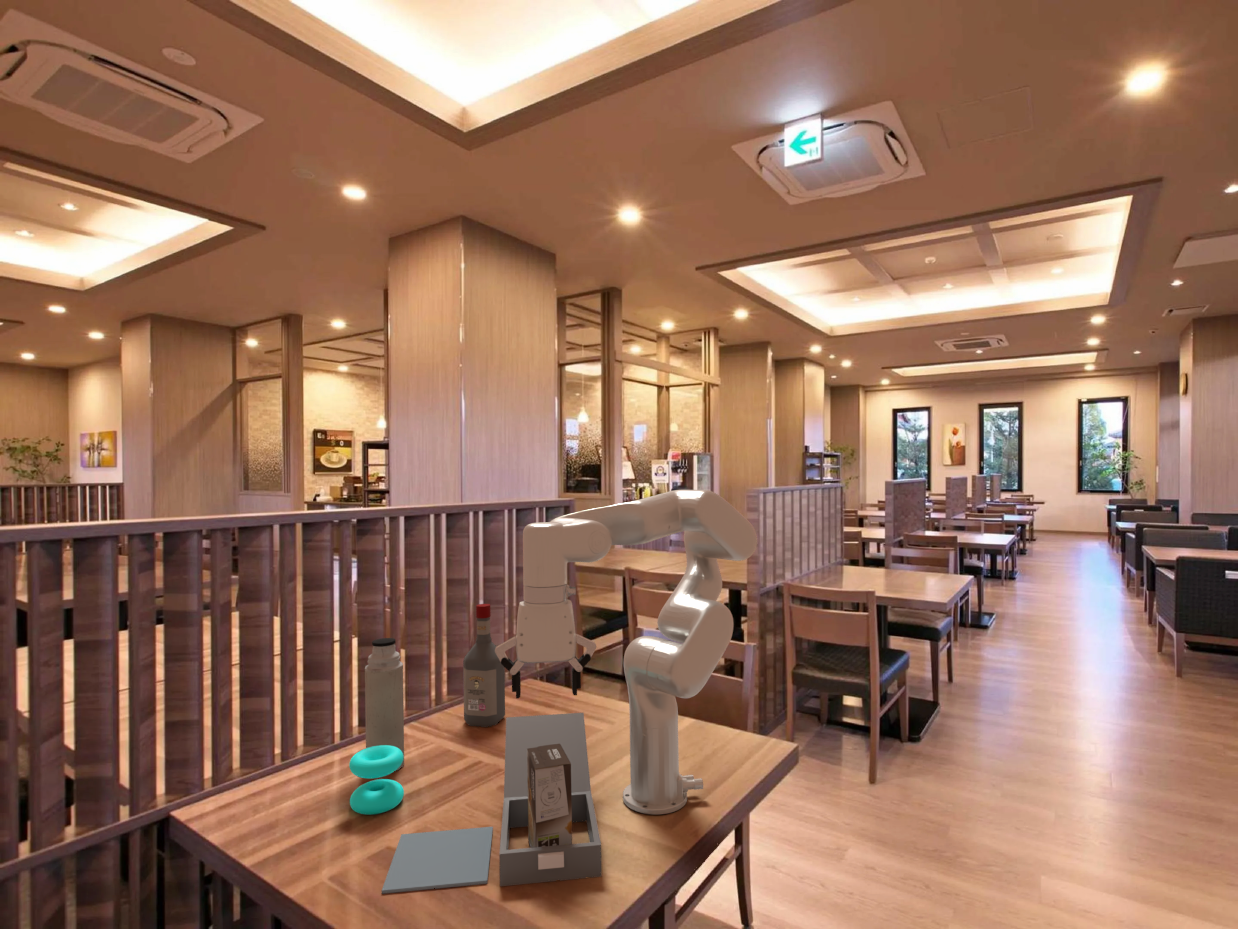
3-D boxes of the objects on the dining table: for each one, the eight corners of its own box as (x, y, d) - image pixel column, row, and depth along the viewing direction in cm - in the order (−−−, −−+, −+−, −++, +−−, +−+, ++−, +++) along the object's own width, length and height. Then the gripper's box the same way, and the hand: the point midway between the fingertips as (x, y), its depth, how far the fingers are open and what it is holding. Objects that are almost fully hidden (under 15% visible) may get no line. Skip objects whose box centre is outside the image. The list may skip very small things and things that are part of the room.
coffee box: (574, 860, 110) (572, 763, 111) (535, 868, 108) (534, 769, 109) (562, 832, 119) (560, 742, 119) (526, 838, 117) (525, 747, 117)
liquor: (493, 728, 168) (492, 609, 168) (460, 725, 170) (459, 608, 170) (508, 715, 177) (506, 602, 177) (476, 713, 179) (474, 601, 179)
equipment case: (591, 818, 124) (590, 791, 124) (602, 879, 105) (601, 847, 105) (504, 825, 122) (503, 798, 122) (499, 889, 103) (499, 857, 103)
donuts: (337, 761, 127) (370, 740, 136) (338, 814, 127) (371, 789, 136) (383, 767, 124) (413, 745, 134) (383, 820, 124) (414, 795, 134)
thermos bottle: (373, 759, 151) (371, 635, 151) (408, 758, 151) (407, 634, 151) (360, 775, 143) (359, 644, 143) (398, 774, 143) (396, 644, 143)
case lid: (590, 791, 124) (590, 794, 124) (583, 712, 139) (583, 715, 140) (503, 798, 122) (504, 801, 122) (506, 717, 137) (506, 720, 138)
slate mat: (492, 829, 120) (492, 826, 120) (487, 883, 105) (487, 880, 105) (401, 837, 118) (401, 834, 118) (381, 893, 102) (381, 890, 102)
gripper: (593, 589, 119) (594, 685, 119) (495, 592, 117) (496, 690, 117) (597, 596, 112) (598, 699, 112) (493, 600, 110) (494, 704, 109)
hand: (546, 694), depth 114 cm, fingers open, 9 cm apart
